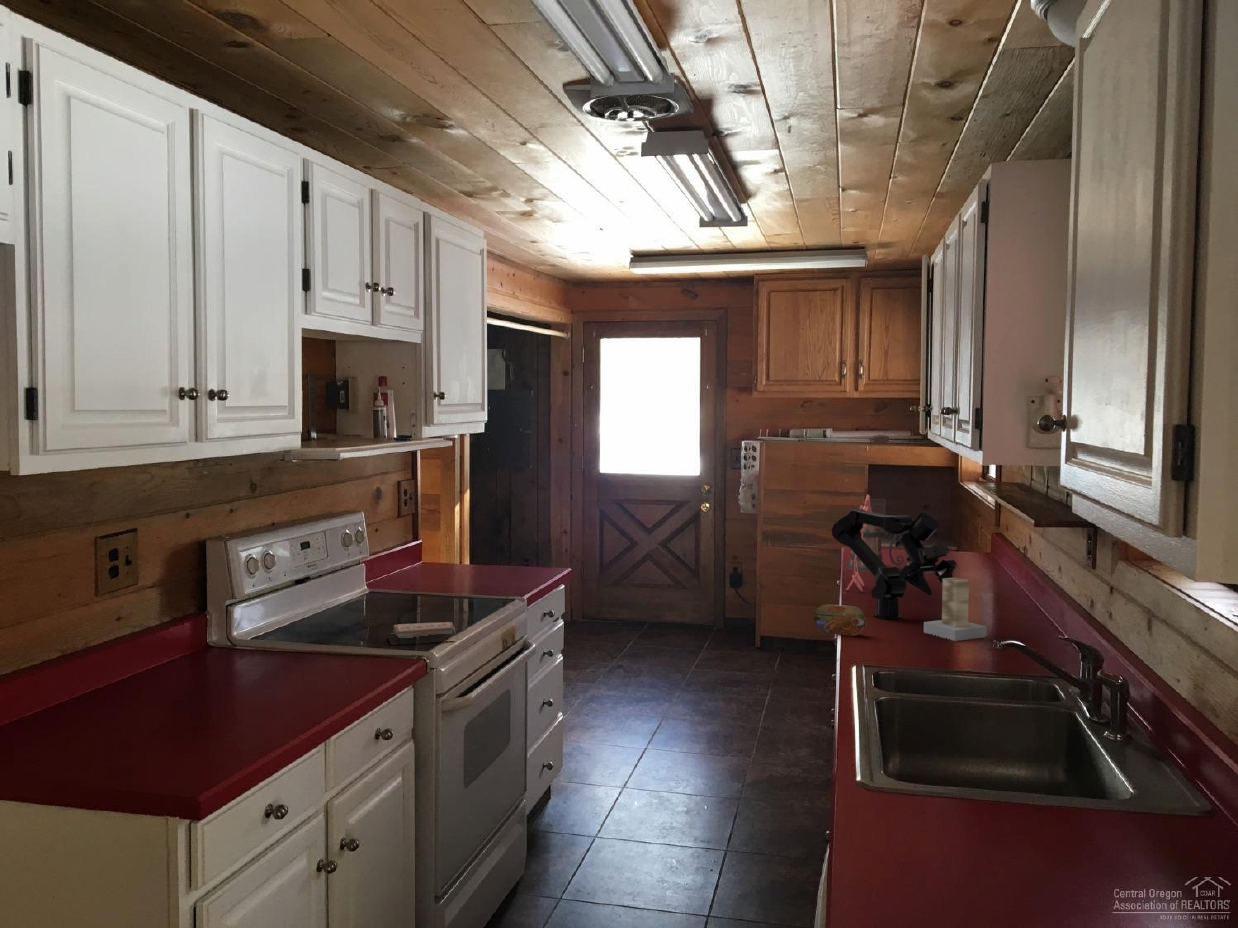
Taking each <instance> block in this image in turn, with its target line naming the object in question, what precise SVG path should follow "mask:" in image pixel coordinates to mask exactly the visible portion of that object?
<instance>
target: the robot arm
mask: <svg viewBox="0 0 1238 928" xmlns="http://www.w3.org/2000/svg"><path fill="white" fill-rule="evenodd" d="M864 524H868V525H873V526H877V527H880V529H883V530H884V532H888V533H889V535H891V536H892V535H893V536H895V535H897V536H898V535H901V537H896V540H895V546H894V547H896V548H902V549H903V550H904V552H905V553H906V555H907V558H906V561H907V562H906V564H904V566H903V567H902V568H901V569H899V568H898V566H890V567H889V566H887V565H886V564H885V563H884V562H883V560H882V561H881V560H880V558H879V557H878V556H877V555H876V554H875V553H874V552H873V551H872V549H871V548H870V547H869V546H868V545H867V544H866V543H865V542H864V540H863V539H862V537H861V531H860V530H861V529H862V528H863V525H864ZM939 525H940V524H939V522H938V521H937V520H936V519H935V518H933V517H932V516H931V515H929V514H927V512H920V513H919V514H918V515H917V517H916V518H915V519H912V517H911V516H910V515H906V514H902V515H901V514H900V515H899V514H898V515H889V514H888V515H887V514H882V513H878V512H873V511H872V512H870V511H866V510H864V509H862V508H861V509H860V508H859V509H852V510H851V511H849V512H848V513H847V514H846V515H845V516H843V517H842V518H840V519H839V520H838V521H836V522H835V523H833V526H832V527H831V535H832V537H833V539H834V540H835V541H837V542H838V543H839V544H841V545H844V546H846V547H847V548H849V549H850V550H852V551H853V552H854V553H855V554H856V556H857V557H858V558H859V559H860V560H861V561H862V563H863V564H864V565H865V566H866V567H867V568H868V569H869V571H870V572H871V573H870V574H871V575H873V577H874V584H875V585H874V587H873V588H872V589H871V591H870V592H871V597H872V598H873V599H876V613H875V614H872V616H873V617H874V618H878V619H882V620H886V621H889V620H897V619H902V618H903V616H901V615H900V614H899V611H900V609H899V608H900V607H899V606H900V605H899V598H900V599H903V598H904V595H905V593H906V592H905V591H906V588H907V584H910V585H912V586H913V587H915V588H917V589H918V590H920V591H921V592H923V593H924V594H926V595H927V596H929V597H931V596H933V592H932V589H931V587H930V585H929V583H928V582H927V580H926V577H924V576H925V574H929V573H934V574H935V576H936V577H937V580H938V581H939V582H941V584H942V585H943V579H944V578H954V577H953V572H954V571H955V570H956V568H957V567H958V564H957V562H956V561H955V559H951V558H949V559H942V560H940V559H941V558H943V557H946V556H948V554H949V553H950V548H949V547H948V545H947V544H946V542H941V543H939V544H937V545H932V546H930V547H929V546H925V544H924V542H926V541H928V540H929V538H931V536H932V535H933V534H934V533H935V532H936V531H937V530H938V529H939ZM939 561H940V562H939ZM938 562H939V563H938ZM936 563H938V564H936Z"/></svg>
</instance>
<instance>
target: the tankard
mask: <svg viewBox="0 0 1238 928" xmlns="http://www.w3.org/2000/svg"><path fill="white" fill-rule="evenodd" d="M861 531H862V532H863V540H864V542H865V543H866V544H867V545H868V546H869V547H870V548H871V549H872V551H873V552H874V553H875V554H876V555H877V556H878V557H879V558H880V560H881V561H882V562H883V554H882V536H885V538H886V540H887V541H889V540H890V539H891V538H890V537H889V536H890V533H888V532H886V531H884V532H882V531H881V527H877V526H873V525H868V526H867V528H865V527H864V525H863V528H862V529H861ZM861 537H862V533H861ZM897 538H898V534H897V535H893V538H892V540H891V541H890V543H889V548H888V549H889V559H890V561H891V563H892V564H893V565H894V566H895V567H899V566H901V565H903V564H904V562H905V557H904V556H903V555H902V554H899V555H897V556H896V561H897V562H898V563H897V562H895V560H894V558H893V555H892V548H893V545H894V543H895V542H896V540H897ZM850 550H851V549H850ZM849 558H850V563H848V564H847V567H846V568H849V569H852V570H854V558H855V553H854V552H853V551H852V550H851V551H850V555H849ZM899 558H901V560H900V559H899ZM856 559H857V567H858V570H859V571H869V569H868V568H867V567H866V566H865V565H864V564H863V563H862V561H861V560H860V559H859V558H858V557H856ZM856 559H855V570H857V567H856Z"/></svg>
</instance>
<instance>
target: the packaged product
mask: <svg viewBox="0 0 1238 928" xmlns="http://www.w3.org/2000/svg"><path fill="white" fill-rule="evenodd" d="M454 633H455V634H456V628H455V625H454V624H453V622H451V621H445V622H444V621H443V622H441V621H440V622H419V623H399V624H394V625H393V626H392V634H395V635H396V636H397V637H398V638H413V637H419V636H428V635H435V634H436V635H437V634H454Z"/></svg>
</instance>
